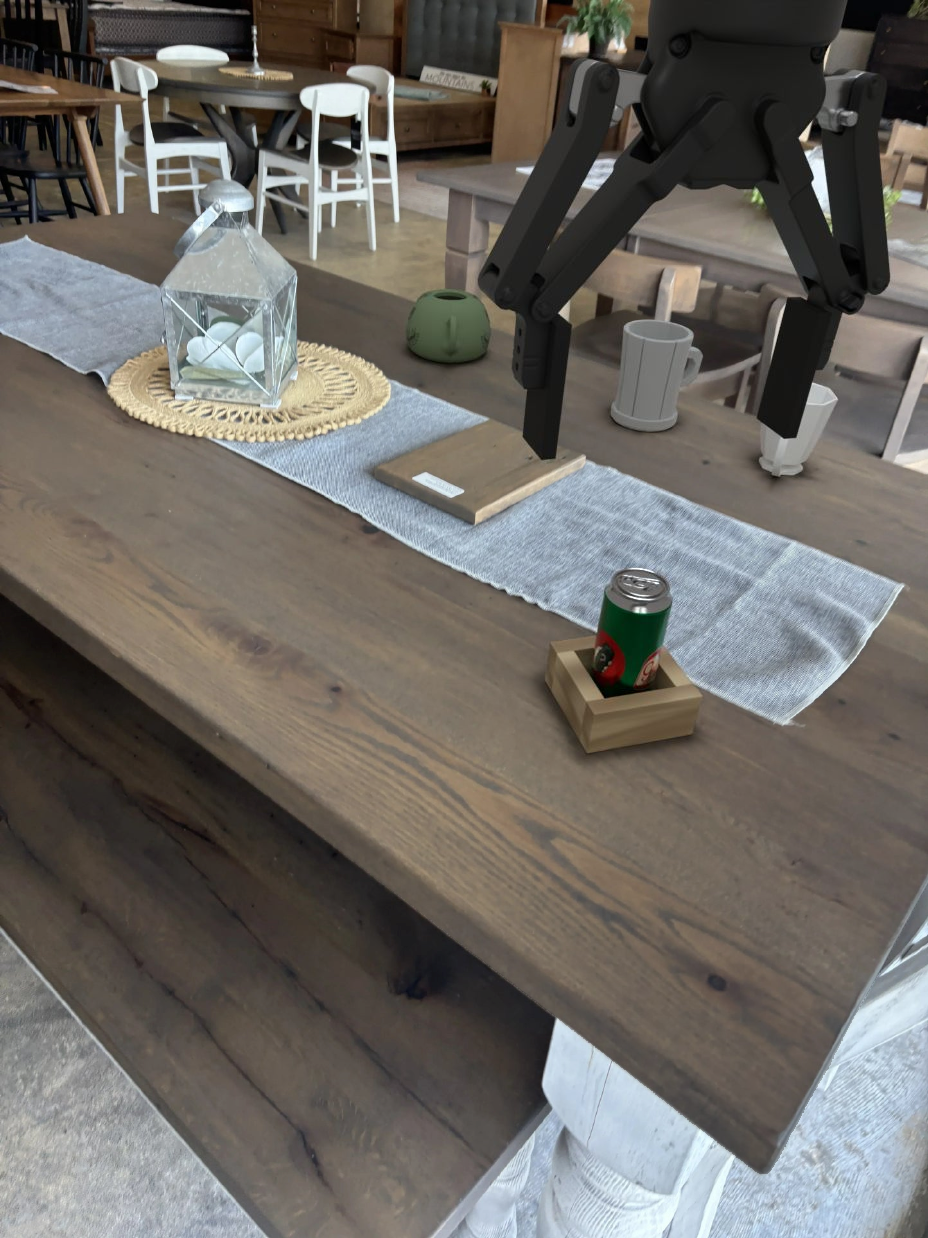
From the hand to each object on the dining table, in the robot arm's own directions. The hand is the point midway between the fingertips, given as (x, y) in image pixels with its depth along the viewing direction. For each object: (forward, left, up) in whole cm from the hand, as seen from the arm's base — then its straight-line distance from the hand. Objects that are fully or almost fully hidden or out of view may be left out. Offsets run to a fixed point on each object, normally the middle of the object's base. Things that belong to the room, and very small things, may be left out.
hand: (661, 438), depth 47 cm
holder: (+10, -7, -29) cm, 31 cm away
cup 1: (+64, -36, -29) cm, 79 cm away
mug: (+91, -16, -29) cm, 97 cm away
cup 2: (+46, -45, -29) cm, 71 cm away
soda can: (+10, -7, -29) cm, 32 cm away
